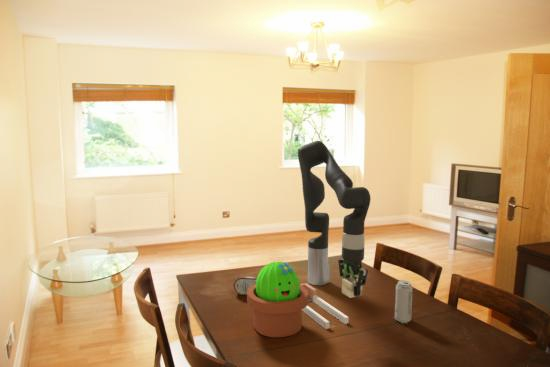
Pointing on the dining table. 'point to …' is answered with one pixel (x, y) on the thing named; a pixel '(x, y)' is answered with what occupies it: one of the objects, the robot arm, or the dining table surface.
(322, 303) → the rail channel
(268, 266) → the potted cactus
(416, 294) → the dining table surface
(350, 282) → the block
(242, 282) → the tin
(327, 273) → the robot arm
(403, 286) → the energy drink can
